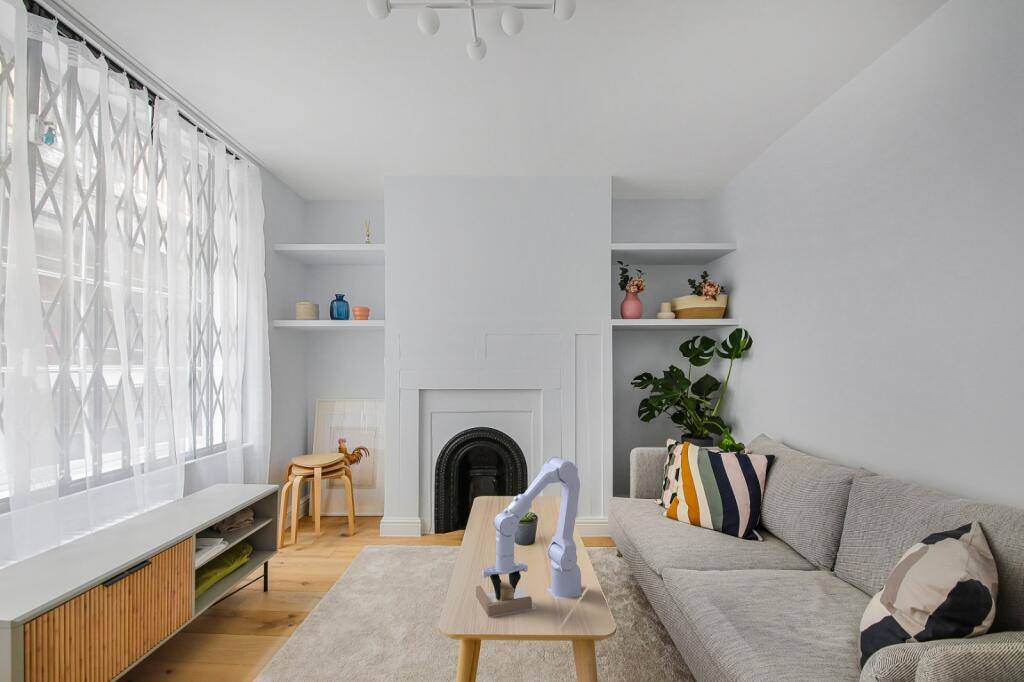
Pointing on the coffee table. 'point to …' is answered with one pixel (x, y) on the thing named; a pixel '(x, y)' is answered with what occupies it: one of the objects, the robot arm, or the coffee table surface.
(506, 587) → the oak block
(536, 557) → the coffee table surface
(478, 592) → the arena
